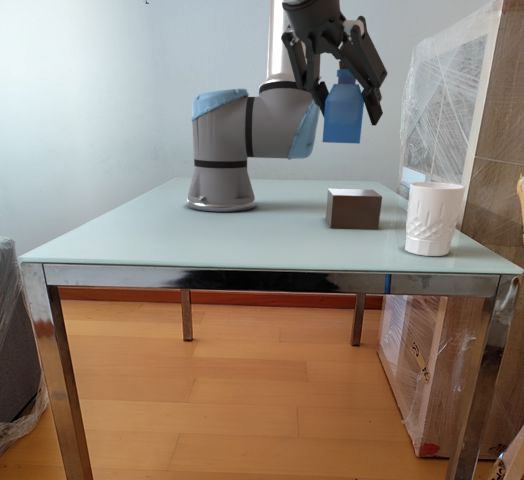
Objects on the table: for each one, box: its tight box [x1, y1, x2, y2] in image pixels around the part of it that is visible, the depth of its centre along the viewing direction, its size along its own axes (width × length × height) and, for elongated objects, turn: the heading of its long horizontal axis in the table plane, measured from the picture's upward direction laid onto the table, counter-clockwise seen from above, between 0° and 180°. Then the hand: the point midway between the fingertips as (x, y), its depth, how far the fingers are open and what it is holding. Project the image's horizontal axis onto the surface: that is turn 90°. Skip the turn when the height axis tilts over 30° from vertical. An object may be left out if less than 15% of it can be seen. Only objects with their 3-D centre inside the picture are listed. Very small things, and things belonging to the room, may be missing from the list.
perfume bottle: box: [322, 60, 365, 145], centre depth 80 cm, size 6×6×12 cm
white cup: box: [404, 181, 466, 257], centre depth 73 cm, size 8×8×10 cm
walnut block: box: [325, 188, 383, 230], centre depth 92 cm, size 9×9×6 cm
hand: (353, 118), depth 83 cm, fingers closed on perfume bottle, 8 cm apart
